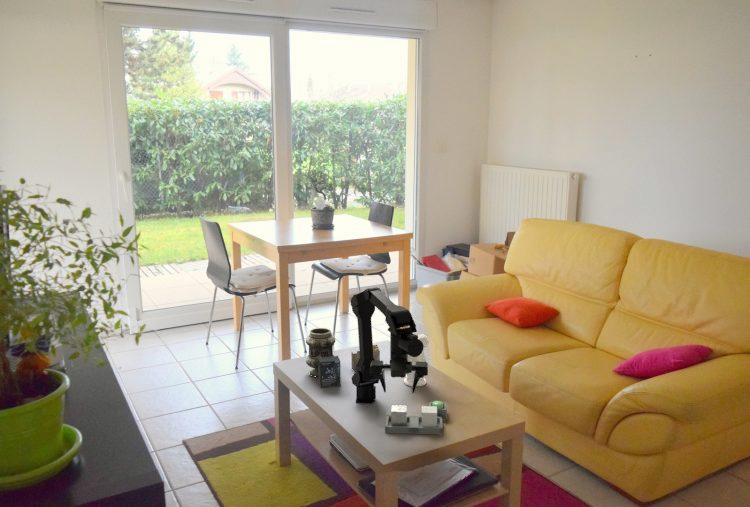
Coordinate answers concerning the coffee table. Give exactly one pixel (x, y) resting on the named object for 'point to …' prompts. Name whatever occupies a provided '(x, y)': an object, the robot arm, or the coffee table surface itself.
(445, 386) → the coffee table surface
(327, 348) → the ornate grey-brown vase
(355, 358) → the architectural model on board
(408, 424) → the pallet
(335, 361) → the box
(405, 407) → the block
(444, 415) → the switch box
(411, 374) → the cherub figurine
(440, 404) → the button
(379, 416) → the coffee table surface
